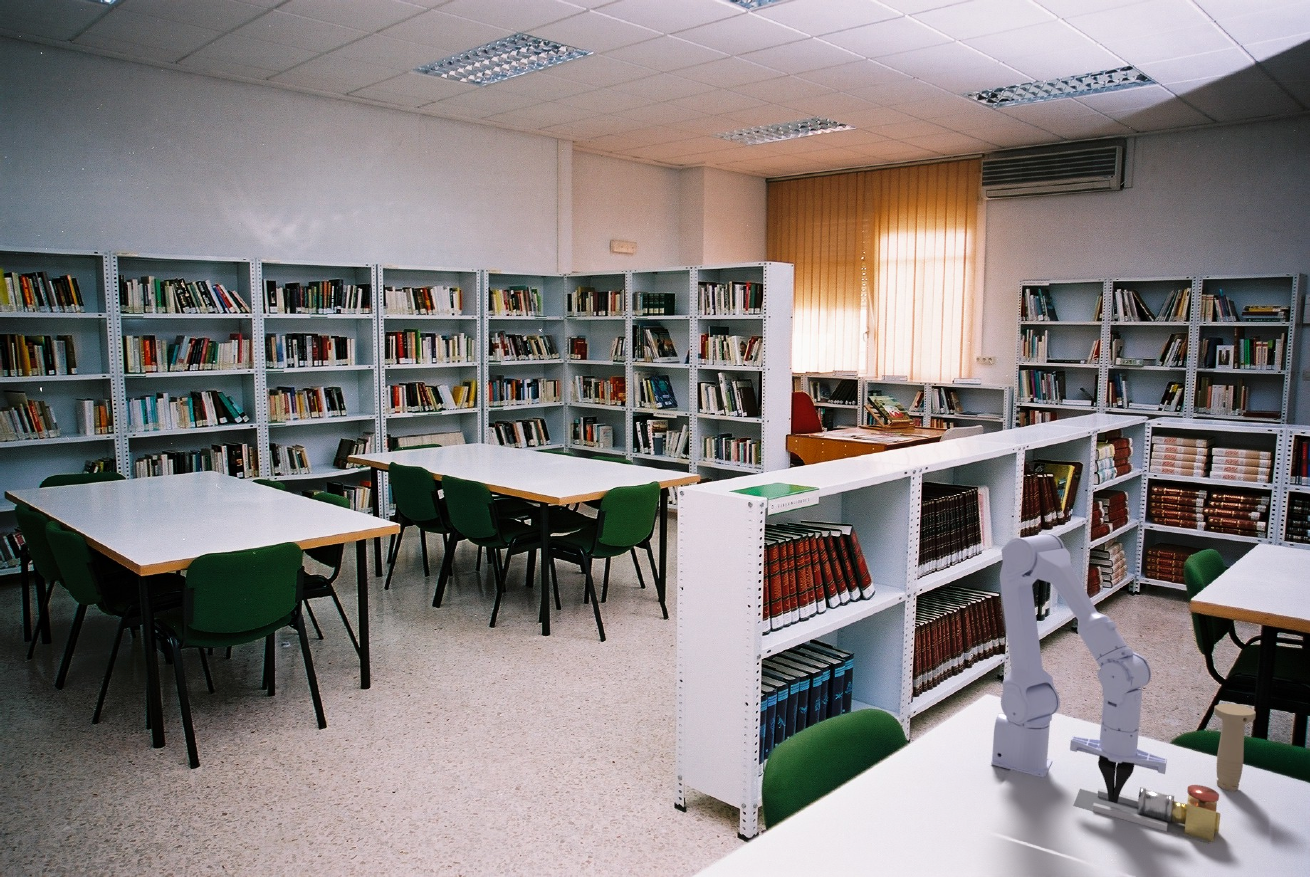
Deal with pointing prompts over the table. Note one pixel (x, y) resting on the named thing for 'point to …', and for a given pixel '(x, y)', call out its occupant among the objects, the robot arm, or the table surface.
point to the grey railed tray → (1127, 811)
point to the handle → (1231, 743)
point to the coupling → (1155, 804)
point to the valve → (1198, 812)
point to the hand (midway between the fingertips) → (1113, 799)
